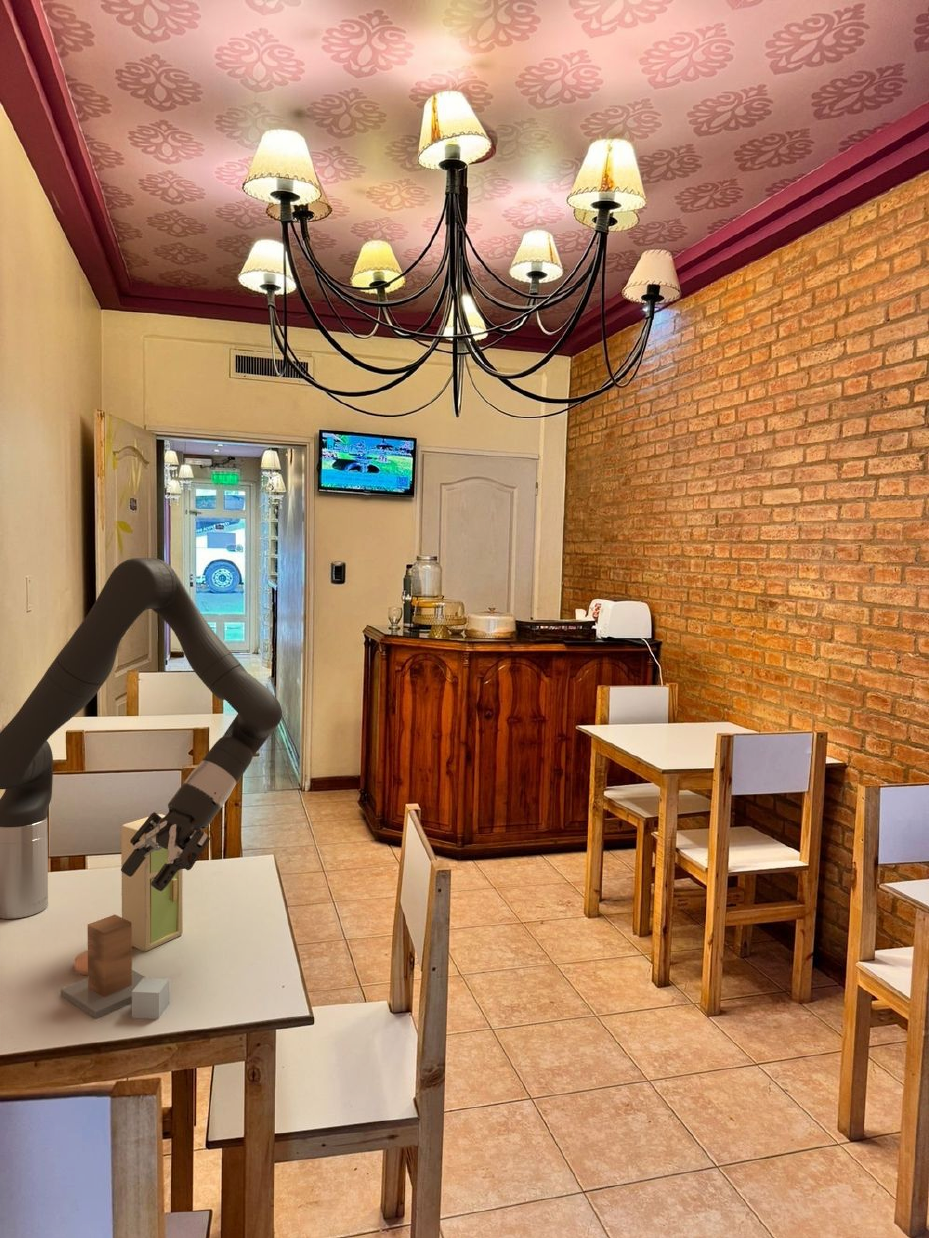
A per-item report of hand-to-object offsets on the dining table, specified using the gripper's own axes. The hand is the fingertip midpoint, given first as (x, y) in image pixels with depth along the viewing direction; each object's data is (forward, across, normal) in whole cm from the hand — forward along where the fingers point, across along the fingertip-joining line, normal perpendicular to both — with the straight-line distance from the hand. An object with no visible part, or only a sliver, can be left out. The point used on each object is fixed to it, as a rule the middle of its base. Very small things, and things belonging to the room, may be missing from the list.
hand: (140, 881), depth 127 cm
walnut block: (+14, 0, +7) cm, 16 cm away
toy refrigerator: (+5, -10, +18) cm, 21 cm away
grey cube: (+14, +9, +9) cm, 19 cm away
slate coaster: (+15, 0, +8) cm, 17 cm away
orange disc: (+13, -9, +10) cm, 19 cm away
